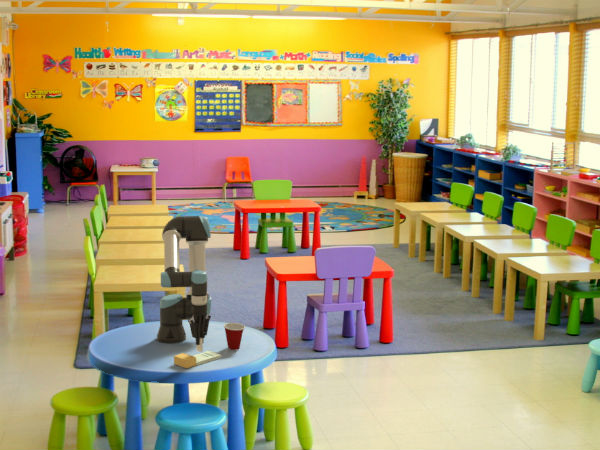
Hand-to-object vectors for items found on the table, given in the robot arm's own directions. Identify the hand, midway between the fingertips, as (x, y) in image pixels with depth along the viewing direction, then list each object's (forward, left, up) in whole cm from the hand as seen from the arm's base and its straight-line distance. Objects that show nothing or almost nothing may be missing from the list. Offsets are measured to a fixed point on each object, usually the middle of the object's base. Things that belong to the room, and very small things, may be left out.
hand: (199, 350), depth 393 cm
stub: (0, -9, -5) cm, 10 cm away
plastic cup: (-2, +25, -5) cm, 26 cm away
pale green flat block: (0, +2, -5) cm, 6 cm away
